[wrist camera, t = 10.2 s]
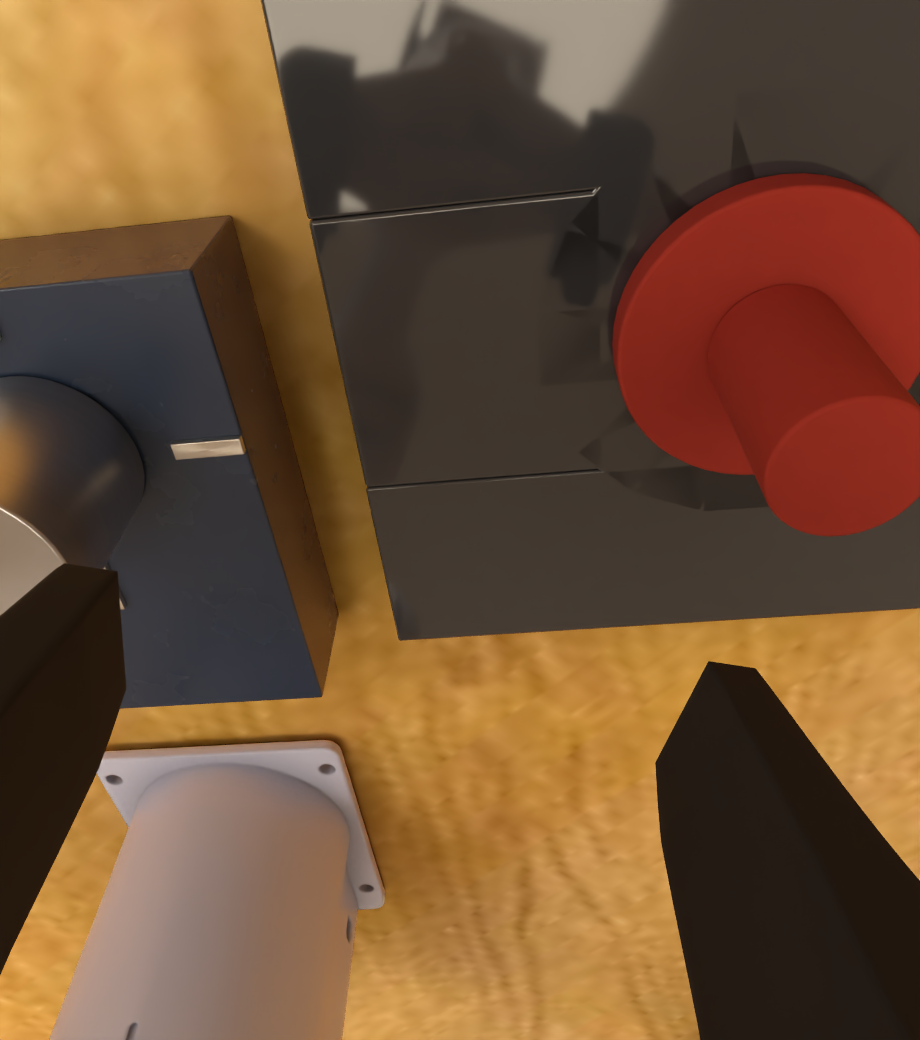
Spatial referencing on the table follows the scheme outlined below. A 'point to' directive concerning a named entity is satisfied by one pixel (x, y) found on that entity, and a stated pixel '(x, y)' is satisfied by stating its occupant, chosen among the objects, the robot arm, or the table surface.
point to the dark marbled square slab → (570, 285)
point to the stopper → (783, 347)
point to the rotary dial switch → (184, 454)
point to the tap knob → (60, 482)
